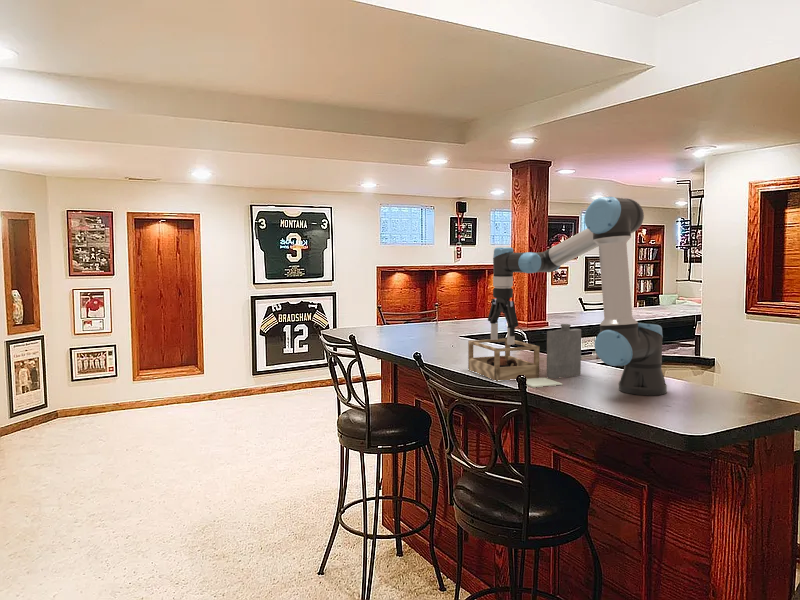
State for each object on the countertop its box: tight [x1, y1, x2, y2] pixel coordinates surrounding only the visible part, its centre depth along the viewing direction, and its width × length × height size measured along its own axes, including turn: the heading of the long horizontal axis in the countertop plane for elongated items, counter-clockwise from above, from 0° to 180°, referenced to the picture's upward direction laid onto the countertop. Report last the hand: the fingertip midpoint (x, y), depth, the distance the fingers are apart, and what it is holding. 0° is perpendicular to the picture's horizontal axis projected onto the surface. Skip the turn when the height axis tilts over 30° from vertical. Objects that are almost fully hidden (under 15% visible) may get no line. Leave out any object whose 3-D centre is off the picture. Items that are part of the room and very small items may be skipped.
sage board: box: [526, 376, 564, 389], centre depth 222 cm, size 12×12×1 cm
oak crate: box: [467, 338, 540, 382], centre depth 239 cm, size 24×18×12 cm
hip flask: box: [546, 323, 582, 379], centre depth 234 cm, size 16×4×20 cm, turn 118°
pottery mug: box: [487, 355, 517, 367], centre depth 239 cm, size 12×10×8 cm
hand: (502, 342), depth 239 cm, fingers open, 13 cm apart
